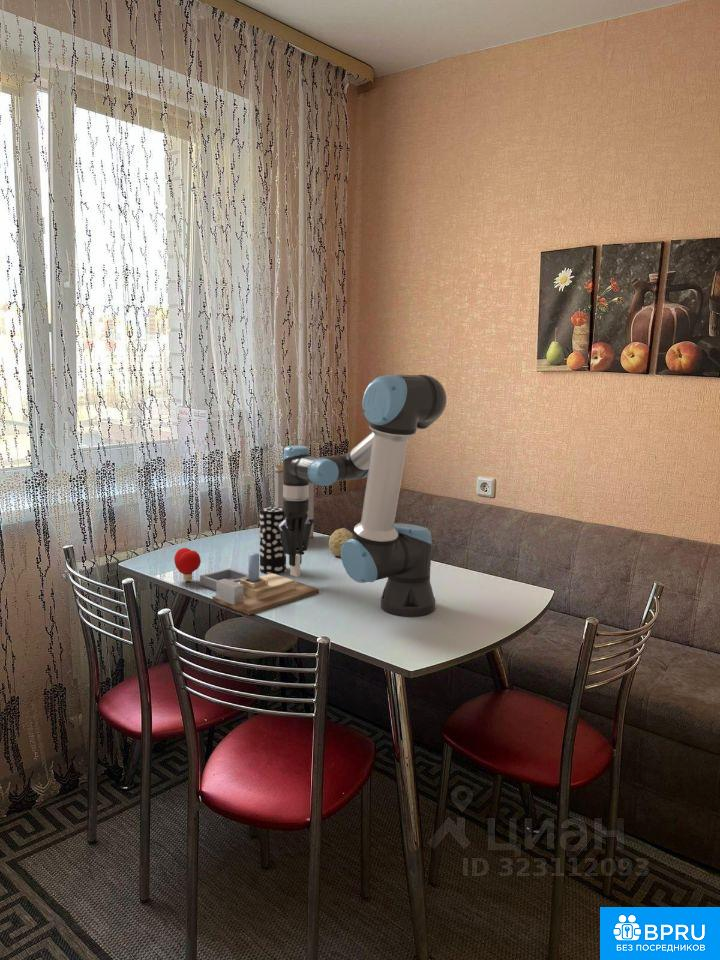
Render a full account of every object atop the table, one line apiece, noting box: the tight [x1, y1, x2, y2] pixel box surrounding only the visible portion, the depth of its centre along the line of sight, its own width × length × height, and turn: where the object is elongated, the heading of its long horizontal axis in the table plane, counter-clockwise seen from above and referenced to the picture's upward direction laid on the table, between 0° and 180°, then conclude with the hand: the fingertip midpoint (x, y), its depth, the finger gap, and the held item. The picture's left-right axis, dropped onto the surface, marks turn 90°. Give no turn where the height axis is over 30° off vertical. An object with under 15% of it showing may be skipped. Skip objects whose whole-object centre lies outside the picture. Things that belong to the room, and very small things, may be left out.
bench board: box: [211, 580, 320, 616], centre depth 208 cm, size 16×26×1 cm, turn 138°
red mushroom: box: [174, 547, 201, 583], centre depth 219 cm, size 9×7×10 cm
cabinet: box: [274, 464, 315, 540], centre depth 268 cm, size 21×10×28 cm, turn 147°
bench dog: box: [216, 579, 243, 605], centre depth 200 cm, size 8×3×5 cm, turn 48°
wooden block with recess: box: [237, 573, 296, 600], centre depth 209 cm, size 10×14×4 cm
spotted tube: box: [259, 506, 287, 575], centre depth 231 cm, size 8×8×20 cm
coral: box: [328, 527, 353, 558], centre depth 251 cm, size 10×10×10 cm
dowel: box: [247, 552, 260, 583], centre depth 206 cm, size 3×3×9 cm
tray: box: [199, 567, 248, 593], centre depth 217 cm, size 11×11×3 cm
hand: (295, 575), depth 218 cm, fingers closed
